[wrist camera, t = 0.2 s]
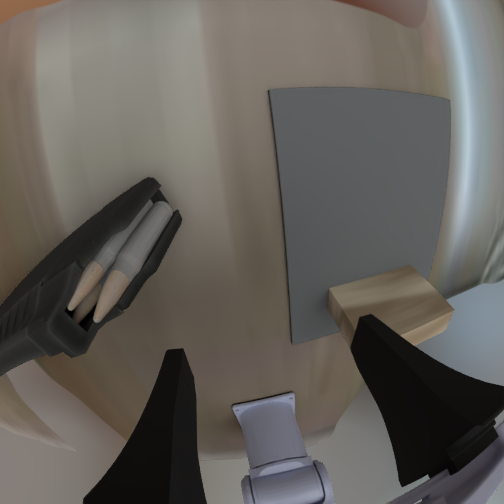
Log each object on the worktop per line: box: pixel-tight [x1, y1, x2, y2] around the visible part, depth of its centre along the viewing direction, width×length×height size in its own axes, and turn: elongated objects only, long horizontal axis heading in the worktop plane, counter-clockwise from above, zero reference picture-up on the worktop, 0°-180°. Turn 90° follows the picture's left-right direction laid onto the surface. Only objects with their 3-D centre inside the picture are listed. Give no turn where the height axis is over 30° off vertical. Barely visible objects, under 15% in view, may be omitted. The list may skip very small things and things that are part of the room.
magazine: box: [0, 177, 182, 376], centre depth 14 cm, size 17×3×30 cm
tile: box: [328, 265, 454, 348], centre depth 20 cm, size 2×9×7 cm, turn 98°
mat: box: [268, 87, 451, 345], centre depth 20 cm, size 22×16×1 cm
